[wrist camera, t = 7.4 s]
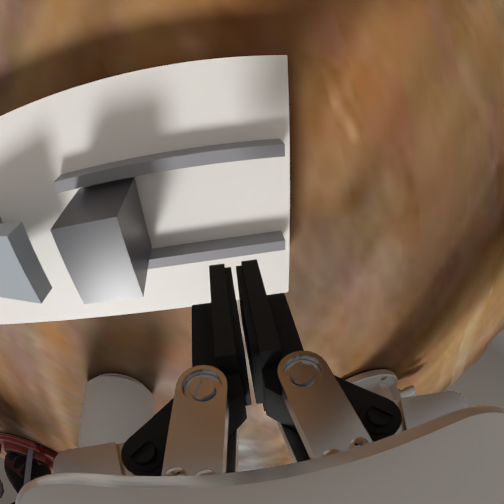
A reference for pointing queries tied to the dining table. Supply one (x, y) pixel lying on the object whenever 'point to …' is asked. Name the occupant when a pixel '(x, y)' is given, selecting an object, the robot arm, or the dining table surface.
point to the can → (113, 409)
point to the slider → (105, 241)
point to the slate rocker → (20, 266)
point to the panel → (158, 176)
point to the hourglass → (24, 461)
